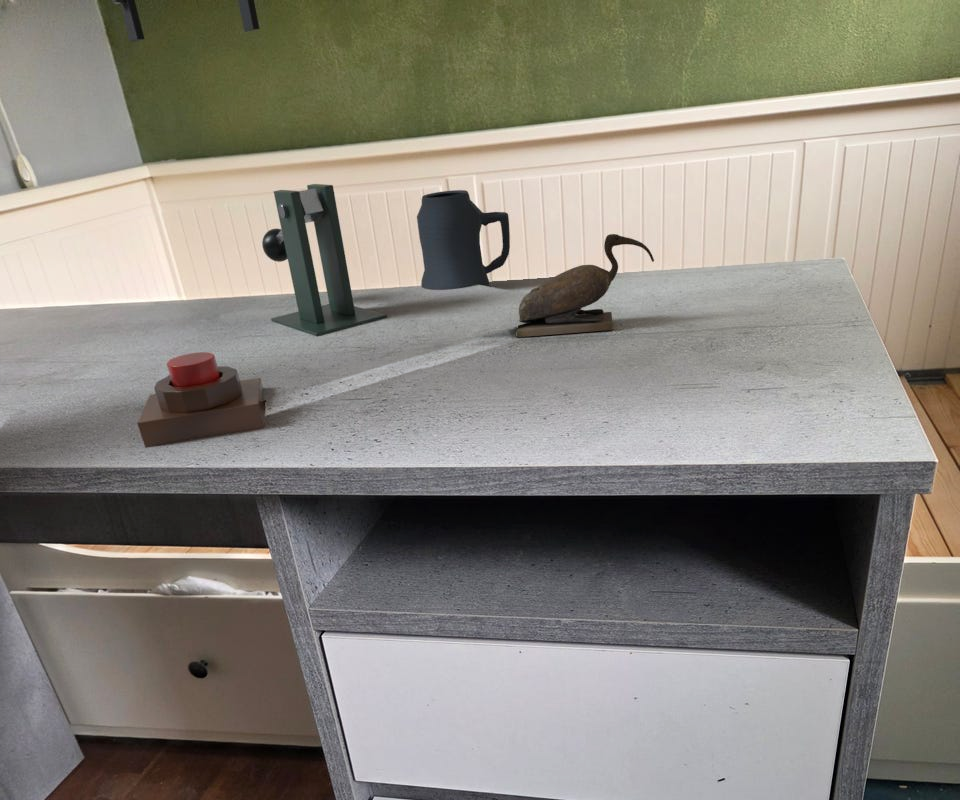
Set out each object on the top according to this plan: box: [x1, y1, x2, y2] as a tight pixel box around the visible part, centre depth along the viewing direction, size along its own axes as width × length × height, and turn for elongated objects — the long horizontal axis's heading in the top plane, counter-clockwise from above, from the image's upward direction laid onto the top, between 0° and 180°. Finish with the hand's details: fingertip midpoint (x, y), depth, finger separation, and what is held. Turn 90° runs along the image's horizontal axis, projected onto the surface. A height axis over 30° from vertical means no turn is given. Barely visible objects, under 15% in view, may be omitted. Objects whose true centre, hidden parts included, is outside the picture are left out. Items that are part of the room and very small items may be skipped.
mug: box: [416, 189, 511, 291], centre depth 109 cm, size 12×9×11 cm
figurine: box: [515, 233, 655, 338], centre depth 89 cm, size 14×4×9 cm, turn 84°
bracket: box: [270, 183, 388, 337], centre depth 98 cm, size 12×9×15 cm
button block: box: [137, 365, 267, 448], centre depth 76 cm, size 10×8×4 cm
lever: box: [262, 188, 323, 263], centre depth 100 cm, size 14×4×4 cm, turn 36°
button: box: [166, 351, 220, 387], centre depth 75 cm, size 4×4×2 cm
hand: (196, 35), depth 99 cm, fingers open, 13 cm apart
